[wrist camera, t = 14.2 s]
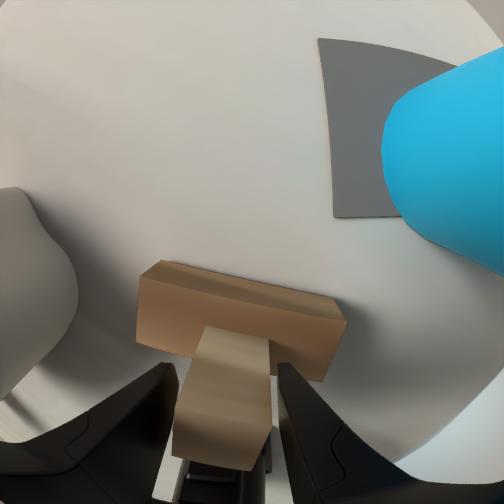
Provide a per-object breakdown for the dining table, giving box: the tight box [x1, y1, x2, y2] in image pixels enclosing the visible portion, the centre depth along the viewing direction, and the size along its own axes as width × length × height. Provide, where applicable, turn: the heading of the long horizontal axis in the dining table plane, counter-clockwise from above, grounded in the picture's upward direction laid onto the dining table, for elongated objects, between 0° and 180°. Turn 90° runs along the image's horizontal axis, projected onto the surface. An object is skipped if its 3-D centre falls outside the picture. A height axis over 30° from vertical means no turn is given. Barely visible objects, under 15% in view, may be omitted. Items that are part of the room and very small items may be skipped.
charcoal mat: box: [317, 38, 458, 218], centre depth 10 cm, size 8×13×1 cm, turn 94°
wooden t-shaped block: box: [136, 260, 347, 471], centre depth 9 cm, size 4×8×7 cm, turn 77°
